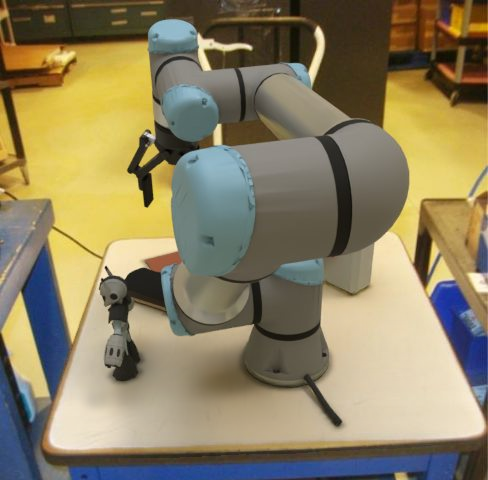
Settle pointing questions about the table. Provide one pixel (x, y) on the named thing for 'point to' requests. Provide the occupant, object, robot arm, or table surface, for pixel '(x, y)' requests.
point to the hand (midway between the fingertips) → (180, 212)
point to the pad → (163, 261)
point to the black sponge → (146, 287)
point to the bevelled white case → (350, 269)
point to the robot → (119, 328)
